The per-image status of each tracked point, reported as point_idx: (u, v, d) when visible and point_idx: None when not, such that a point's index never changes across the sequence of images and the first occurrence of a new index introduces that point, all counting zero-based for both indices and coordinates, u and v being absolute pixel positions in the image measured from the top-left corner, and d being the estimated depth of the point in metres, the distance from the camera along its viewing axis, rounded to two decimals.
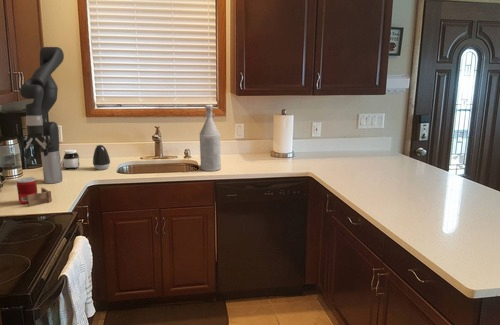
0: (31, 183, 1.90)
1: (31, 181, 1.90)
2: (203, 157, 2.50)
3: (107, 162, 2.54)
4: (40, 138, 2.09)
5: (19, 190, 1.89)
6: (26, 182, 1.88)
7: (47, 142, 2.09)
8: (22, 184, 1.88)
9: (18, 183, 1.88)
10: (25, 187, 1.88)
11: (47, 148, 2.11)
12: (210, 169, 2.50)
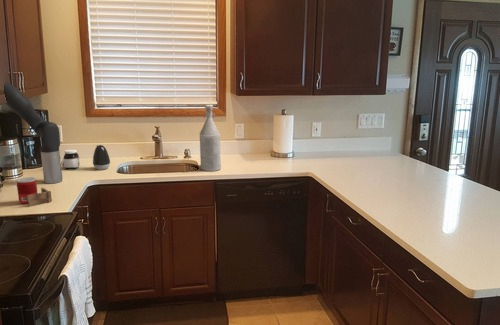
0: (31, 183, 1.90)
1: (31, 181, 1.90)
2: (203, 157, 2.50)
3: (107, 162, 2.54)
4: None
5: (19, 190, 1.89)
6: (26, 182, 1.88)
7: None
8: (22, 184, 1.88)
9: (18, 183, 1.88)
10: (25, 187, 1.88)
11: None
12: (210, 169, 2.50)
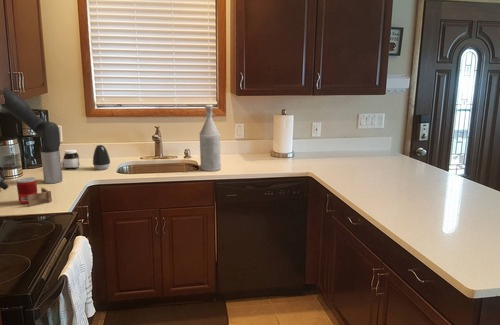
0: (31, 183, 1.90)
1: (31, 181, 1.90)
2: (203, 157, 2.50)
3: (107, 162, 2.54)
4: None
5: (19, 190, 1.89)
6: (26, 182, 1.88)
7: None
8: (22, 184, 1.88)
9: (18, 183, 1.88)
10: (25, 187, 1.88)
11: None
12: (210, 169, 2.50)
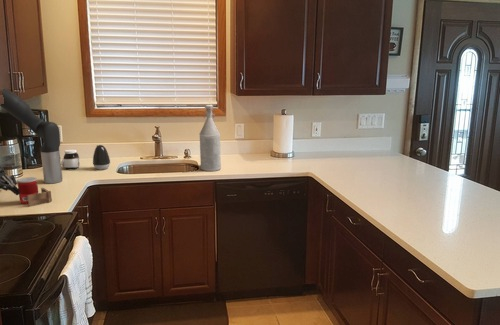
0: (32, 183, 1.90)
1: (32, 181, 1.89)
2: (203, 157, 2.50)
3: (107, 162, 2.54)
4: None
5: (20, 190, 1.89)
6: (27, 182, 1.88)
7: None
8: (23, 184, 1.88)
9: (19, 183, 1.88)
10: (26, 187, 1.88)
11: None
12: (210, 169, 2.50)
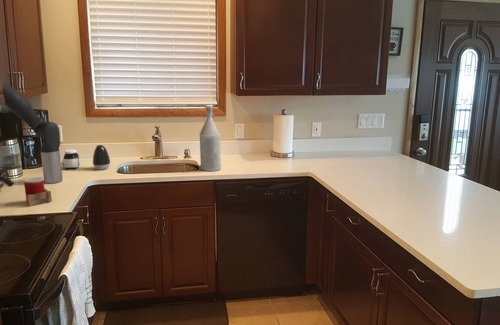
0: (39, 183, 1.90)
1: (39, 181, 1.90)
2: (203, 157, 2.50)
3: (107, 162, 2.54)
4: None
5: (27, 190, 1.88)
6: (34, 182, 1.88)
7: None
8: (30, 184, 1.88)
9: (26, 183, 1.88)
10: (33, 187, 1.88)
11: None
12: (210, 169, 2.50)
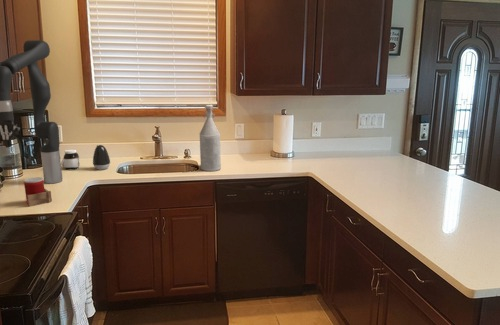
0: (39, 183, 1.90)
1: (39, 181, 1.90)
2: (203, 157, 2.50)
3: (107, 162, 2.54)
4: (10, 128, 1.91)
5: (27, 190, 1.88)
6: (34, 182, 1.88)
7: (13, 133, 1.91)
8: (30, 184, 1.88)
9: (26, 183, 1.88)
10: (33, 187, 1.88)
11: None
12: (210, 169, 2.50)
